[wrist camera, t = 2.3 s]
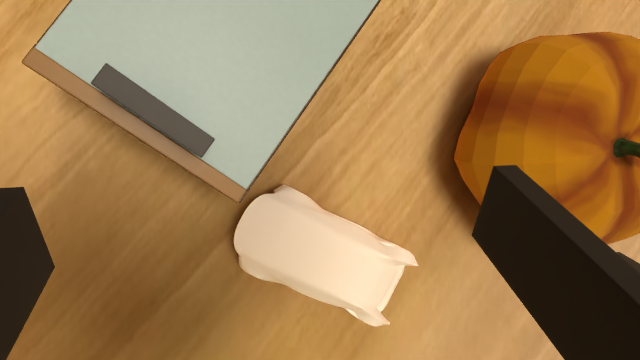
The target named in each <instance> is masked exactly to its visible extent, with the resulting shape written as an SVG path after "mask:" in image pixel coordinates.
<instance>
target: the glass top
mask: <svg viewBox="0 0 640 360" xmlns="http://www.w3.org/2000/svg"><path fill="white" fill-rule="evenodd" d="M377 2H378V0H72V1H71V2H70V4H69V5H68V6H67V7H66V9H65V10H64V11H63V12H62V14H61V15H60V16H59V17H58V19H57V20H56V21H55V22H54V24H53V25H52V26H51V27H50V29H49V30H48V31H47V32H46V34H45V35H44V36H43V37H42V39H41V40H40V41H39V42H38V44H37V45H36V46H35V47H34V48H32V49H31V50H30V52H29V53H28V54H27V55H26V57H25V58H24V59H23V60H22V63H23V64H24V65H26V66H27V67H29V68H30V69H32V70H33V71H35V72H36V73H38V74H39V75H41V76H43V77H44V78H46V79H47V80H49V81H50V82H52V83H53V84H55V85H56V86H58V87H59V88H61V89H63V90H64V91H66V92H67V93H69V94H70V95H72V96H73V97H75V98H76V99H78V100H79V101H81V102H83V103H84V104H86V105H87V106H89V107H90V108H92V109H93V110H95V111H96V112H98V113H99V114H101V115H103V116H104V117H106V118H107V119H109V120H110V121H112V122H113V123H115V124H116V125H118V126H119V127H121V128H123V129H124V130H126V131H127V132H129V133H130V134H132V135H133V136H135V137H136V138H138V139H139V140H141V141H142V142H144V143H146V144H147V145H149V146H150V147H152V148H153V149H155V150H156V151H158V152H159V153H161V154H162V155H164V156H166V157H167V158H169V159H170V160H172V161H173V162H175V163H176V164H178V165H179V166H181V167H182V168H184V169H186V170H187V171H189V172H190V173H192V174H193V175H195V176H196V177H198V178H199V179H201V180H202V181H204V182H206V183H207V184H209V185H210V186H212V187H213V188H215V189H216V190H218V191H219V192H221V193H222V194H224V195H226V196H227V197H229V198H230V199H232V200H233V201H235V202H236V203H238V202H239V201H240V199H241V198H242V196H243V195H244V193H245V192H246V189H247V188H248V187H249V185H250V184H251V182H252V181H253V179H254V178H255V177H256V175H257V174H258V172H259V171H260V169H261V168H262V167H263V165H264V164H265V162H266V161H267V159H268V158H269V157H270V155H271V154H272V152H273V151H274V149H275V148H276V147H277V145H278V144H279V142H280V141H281V139H282V138H283V136H284V135H285V134H286V132H287V131H288V129H289V128H290V126H291V125H292V124H293V122H294V121H295V119H296V118H297V116H298V115H299V114H300V112H301V111H302V109H303V108H304V106H305V105H306V104H307V102H308V101H309V99H310V98H311V96H312V95H313V94H314V92H315V91H316V89H317V88H318V86H319V85H320V83H321V82H322V81H323V79H324V78H325V76H326V75H327V73H328V72H329V71H330V69H331V68H332V66H333V65H334V63H335V62H336V61H337V59H338V58H339V56H340V55H341V53H342V52H343V51H344V49H345V48H346V46H347V45H348V43H349V42H350V41H351V39H352V38H353V36H354V35H355V33H356V32H357V30H358V29H359V28H360V26H361V25H362V23H363V22H364V20H365V19H366V18H367V16H368V15H369V13H370V12H371V10H372V9H373V8H374V6H375V5H376V3H377Z"/></svg>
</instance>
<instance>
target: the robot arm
mask: <svg viewBox="0 0 640 360" xmlns="http://www.w3.org/2000/svg"><path fill="white" fill-rule="evenodd" d="M472 236H473V238H474V239H475V240H476V242H477V243H478V244H479V246H480V247H481V248H482V250H483V251H484V252H485V254H486V255H487V256H488V258H489V259H490V261H491V262H492V263H493V265H494V266H495V267H496V269H497V270H498V271H499V273H500V274H501V275H502V277H503V278H504V279H505V281H506V282H507V283H508V285H509V286H510V287H511V289H512V290H513V291H514V293H515V294H516V295H517V297H518V298H519V299H520V301H521V302H522V303H523V305H524V306H525V307H526V309H527V310H528V311H529V313H530V314H531V315H532V317H533V318H534V319H535V321H536V322H537V323H538V325H539V326H540V327H541V329H542V330H543V331H544V333H545V334H546V335H547V337H548V338H549V339H550V341H551V342H552V343H553V345H554V346H555V347H556V349H557V350H558V351H559V353H560V354H561V355H562V357H563V358H564V359H565V360H640V264H639V263H637V262H636V261H634V260H632V259H630V258H629V257H627V256H625V255H623V254H622V253H620V252H615V251H614V250H613V249H611V248H610V247H609V246H608V245H607V244H606V243H605V242H603V241H602V240H601V239H600V238H599V237H598V236H597V235H595V234H594V233H593V232H592V231H591V230H590V229H589V228H587V227H586V226H585V225H584V224H583V223H582V222H581V221H579V220H578V219H577V218H576V217H575V216H574V215H573V214H571V213H570V212H569V211H568V210H567V209H566V208H565V207H563V206H562V205H561V204H560V203H559V202H558V201H557V200H555V199H554V198H553V197H552V196H551V195H550V194H549V193H547V192H546V191H545V190H544V189H543V188H542V187H541V186H539V185H538V184H537V183H536V182H535V181H534V180H533V179H531V178H530V177H529V176H528V175H527V174H526V173H524V172H523V171H522V170H521V169H520V168H519V167H518V166H516V165H503V166H493V169H492V172H491V175H490V178H489V182H488V185H487V188H486V191H485V194H484V198H483V201H482V204H481V207H480V210H479V214H478V217H477V220H476V223H475V226H474V229H473V233H472ZM54 268H55V266H54V263H53V261H52V258H51V256H50V253H49V251H48V248H47V245H46V243H45V240H44V238H43V235H42V233H41V230H40V228H39V225H38V222H37V220H36V217H35V215H34V212H33V210H32V207H31V205H30V202H29V199H28V197H27V194H26V192H25V189H24V187H16V188H0V360H6V359H7V357H8V355H9V353H10V352H11V350H12V348H13V346H14V344H15V342H16V340H17V338H18V336H19V334H20V333H21V331H22V329H23V327H24V325H25V323H26V321H27V319H28V317H29V315H30V313H31V312H32V310H33V308H34V306H35V304H36V302H37V300H38V298H39V296H40V294H41V293H42V291H43V289H44V287H45V285H46V283H47V281H48V279H49V277H50V275H51V273H52V272H53V270H54Z"/></svg>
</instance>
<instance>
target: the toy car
mask: <svg viewBox="0 0 640 360" xmlns="http://www.w3.org/2000/svg"><path fill="white" fill-rule="evenodd" d="M273 192H275V193H274V194H263V195H261V196H259V197H257V198H256V199H255V200H254V201H253V202H252V203H251V204H250V205H249V206H248V207H247V209H246V210H245V212H244V213H243V215H242V217H241V219H240V221H239V223H238V225H237V228H236V231H235V235H234V247H235V250H236V252H237V253H238V254H239V265H240V267H241V268H242V269H243V270H244V271H245V272H247V273H249V274H251V275H252V276H254V277H257V278H259V279H261V280H265V281H271V282H276V283H281V284H283V285H286V286H288V287H290V288H291V289H293V290H295V291H297V292H299V293H301V294H304V295H306V296H308V297H311V298H313V299H316V300H318V301H321V302H324V303H327V304H330V305H334V306H337V307H342V308H343V309H345V310H346V311H348V312H349V313H351V314H352V315H353V316H355V317H356V318H358V319H360V320H361V321H363V322H365V323H367V324H369V325H372V326H375V327H377V326H381V325H386V324H388V325H389V324H390V322H389V321H388V320H387V319H386V318H385V317H384V316H383V315H382V314H381V313H380V312H381V311H382V310H383V309H384V307H385V306H386V305H387V303H388V301H389V299H390V297H391V295H392V293H393V291H394V289H395V287H396V285H397V283H398V281H399V279H400V277H401V275H402V273H403V271H404V268H405V265H408V266H417V267H419V265H418V264H417V262H416V260H415V258H414V255H413V254H411V252H409V251H407V250H405V249H404V248H401V247H399V246H398V245H396V244H394V243H392V242H390V241H386V240H384V239H382V238H380V237H379V236H377V235H375V234H374V233H372V232H370V231H369V230H367V229H365V228H364V227H362V226H360V225H357V224H355V223H353V222H351V221H349V220H346V219H344V218H342V217H339V216H337V215H335V214H333V213H330V212H328V211H326V210H324V209H322V208H321V207H320V206H319V205H318V204H317V203H316V202H315V201H314V200H312V199H311V198H310V197H308V196H306V195H305V194H303V193H301V192H299V191H297V190H295V189H293V188H291V187H289V186H288V185H285V184H282V185H281V186H280V187H278V188H276V189H275V190H273ZM312 217H313V218H312Z"/></svg>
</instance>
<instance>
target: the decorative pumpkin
mask: <svg viewBox="0 0 640 360" xmlns="http://www.w3.org/2000/svg"><path fill="white" fill-rule="evenodd" d="M454 160H455V162H456V165H457V167H458V169H459V172H460V174H461V177H462V179H463V180H464V182H465V183H466V185H467V186H468V188H469V189H470V191H471V192H472V194H473V195H474V197H475V198H476V199H477V201H478V203H479V205H480V207H481V204H482V201H483V198H484V194H485V191H486V188H487V185H488V182H489V178H490V175H491V172H492V169H493V166H503V165H516V166H518V167H519V168H520V169H521V170H522V171H523V172H524V173H526V174H527V175H528V176H529V177H530V178H531V179H533V180H534V181H535V182H536V183H537V184H538V185H539V186H541V187H542V188H543V189H544V190H545V191H546V192H547V193H549V194H550V195H551V196H552V197H553V198H554V199H555V200H557V201H558V202H559V203H560V204H561V205H562V206H563V207H565V208H566V209H567V210H568V211H569V212H570V213H571V214H573V215H574V216H575V217H576V218H577V219H578V220H579V221H581V222H582V223H583V224H584V225H585V226H586V227H587V228H589V229H590V230H591V231H592V232H593V233H594V234H595V235H597V236H598V237H599V238H600V239H601V240H602V241H603V242H605V243H606V244H610V243H614V242H617V241H620V240H624V239H627V238H629V237H631V236H634V235H636V234H639V233H640V39H637V38H635V37H632V36H628V35H622V34H617V33H611V32H596V33H582V34H573V35H556V36H539V37H536V38H533V39H530V40H528V41H525V42H522V43H520V44H517V45H515V46H513V47H511V48H509V49H507V50H505V51H502V52H500V53H499V55H498V56H497V57H496V58H495V60H494V61H493V62H492V63H491V64H490V66H489V67H488V69H487V71H486V73H485V75H484V76H483V78H482V80H481V82H480V84H479V86H478V89H477V93H476V96H475V99H474V103H473V106H472V109H471V112H470V114H469V116H468V118H467V120H466V122H465V124H464V127H463V129H462V131H461V133H460V135H459V139H458V143H457V147H456V151H455V155H454Z"/></svg>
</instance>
